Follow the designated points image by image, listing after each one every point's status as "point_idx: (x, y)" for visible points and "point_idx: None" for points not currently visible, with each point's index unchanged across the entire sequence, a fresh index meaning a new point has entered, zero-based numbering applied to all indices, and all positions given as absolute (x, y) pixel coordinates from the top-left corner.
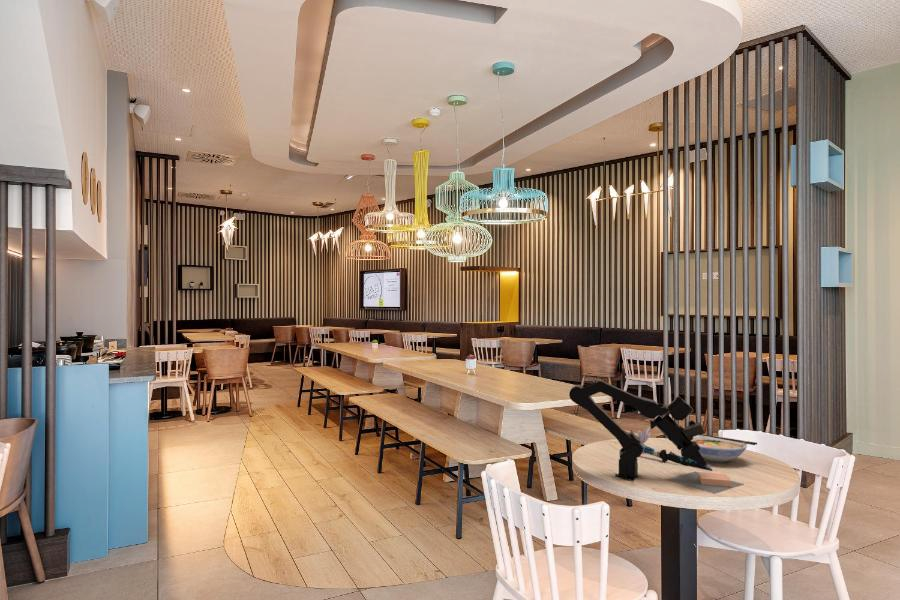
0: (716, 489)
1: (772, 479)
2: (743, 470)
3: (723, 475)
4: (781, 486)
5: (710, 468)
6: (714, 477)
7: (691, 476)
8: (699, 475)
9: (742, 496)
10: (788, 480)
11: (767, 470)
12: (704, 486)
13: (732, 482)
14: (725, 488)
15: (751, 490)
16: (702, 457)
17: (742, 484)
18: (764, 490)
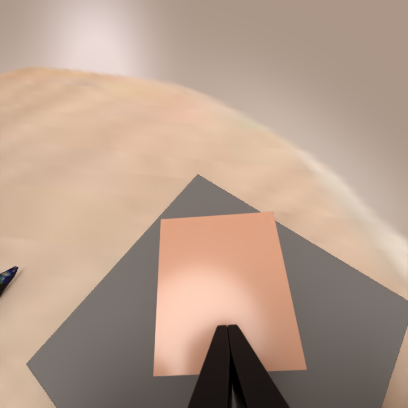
0: (332, 286)
1: (103, 106)
2: (3, 160)
3: (191, 232)
4: (170, 96)
5: (3, 275)
6: (248, 281)
7: (133, 405)
8: None
9: (344, 198)
10: (107, 80)
11: (9, 107)
12: (311, 344)
13: (187, 209)
14: (293, 245)
15: (248, 164)
16: (276, 389)
17: (204, 180)
18: (230, 133)
